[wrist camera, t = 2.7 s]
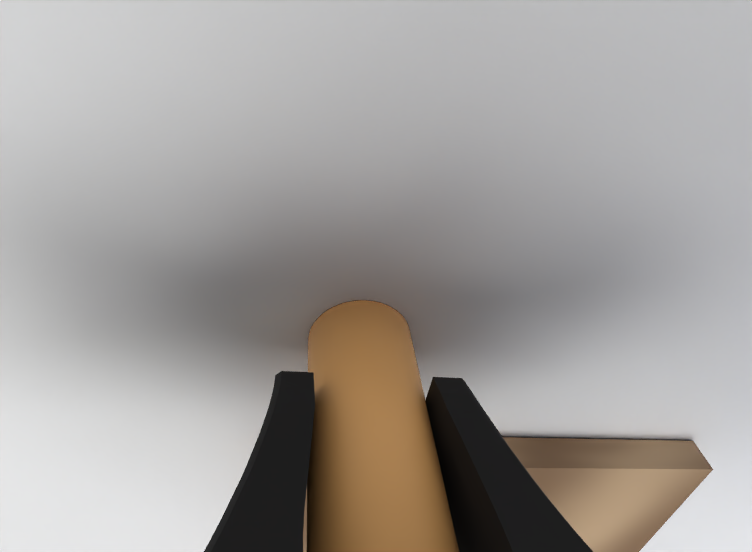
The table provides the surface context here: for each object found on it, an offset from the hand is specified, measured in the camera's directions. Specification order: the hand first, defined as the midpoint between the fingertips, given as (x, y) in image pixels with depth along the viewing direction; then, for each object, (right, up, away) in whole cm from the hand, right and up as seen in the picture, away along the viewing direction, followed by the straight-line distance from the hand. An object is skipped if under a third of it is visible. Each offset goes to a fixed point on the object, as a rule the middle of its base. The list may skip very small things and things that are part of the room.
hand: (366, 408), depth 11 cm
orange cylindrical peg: (0, +1, +2) cm, 2 cm away
